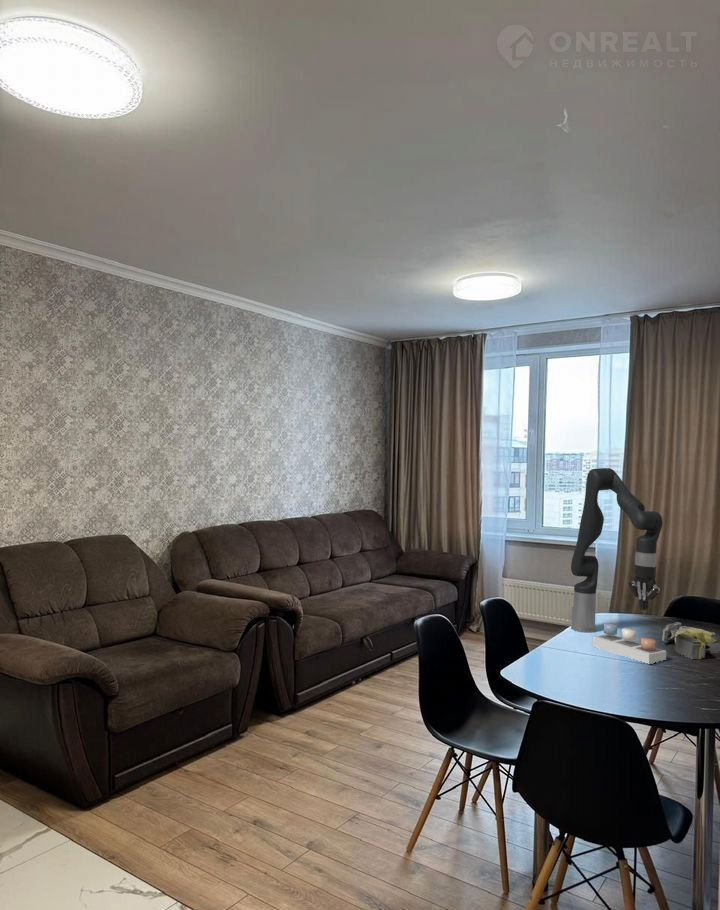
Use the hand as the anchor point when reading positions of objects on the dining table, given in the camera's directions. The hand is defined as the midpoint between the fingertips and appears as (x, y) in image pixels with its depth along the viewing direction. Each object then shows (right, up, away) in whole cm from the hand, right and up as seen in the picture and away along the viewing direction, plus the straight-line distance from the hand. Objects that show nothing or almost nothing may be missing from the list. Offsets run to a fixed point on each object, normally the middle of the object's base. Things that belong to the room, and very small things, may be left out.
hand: (643, 609), depth 244 cm
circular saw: (+13, -13, +21) cm, 29 cm away
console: (-4, -18, +5) cm, 19 cm away
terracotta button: (0, -14, -3) cm, 14 cm away
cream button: (-4, -12, +5) cm, 14 cm away
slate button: (-8, -12, +12) cm, 19 cm away
